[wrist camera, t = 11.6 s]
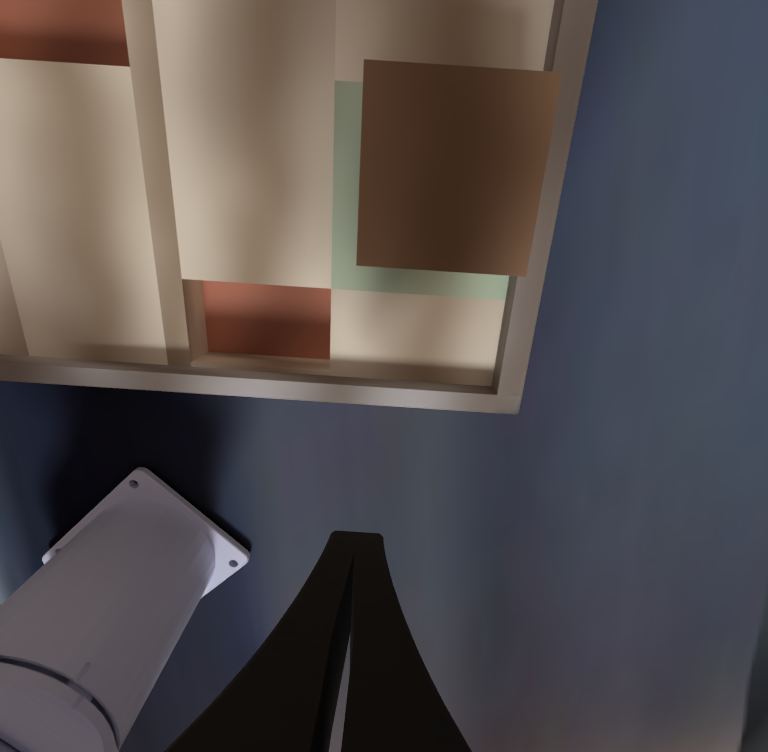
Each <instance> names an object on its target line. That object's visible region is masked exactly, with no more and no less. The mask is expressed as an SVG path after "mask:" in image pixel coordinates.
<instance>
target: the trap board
mask: <svg viewBox="0 0 768 752" xmlns="http://www.w3.org/2000/svg"><path fill="white" fill-rule="evenodd" d="M597 5H598V0H0V381H15V382H31V383H46V384H61V385H76V386H92V387H107V388H122V389H137V390H153V391H168V392H183V393H198V394H214V395H229V396H244V397H259V398H275V399H290V400H305V401H320V402H336V403H351V404H366V405H381V406H397V407H412V408H427V409H442V410H458V411H473V412H488V413H503V414H518V413H519V408H520V402H521V397H522V392H523V387H524V382H525V377H526V371H527V366H528V361H529V356H530V351H531V346H532V340H533V335H534V330H535V325H536V320H537V315H538V309H539V304H540V299H541V294H542V289H543V284H544V278H545V273H546V268H547V263H548V258H549V253H550V247H551V242H552V237H553V232H554V227H555V222H556V216H557V211H558V206H559V201H560V196H561V191H562V185H563V180H564V175H565V170H566V165H567V160H568V154H569V149H570V144H571V139H572V134H573V129H574V123H575V118H576V113H577V108H578V103H579V98H580V92H581V87H582V82H583V77H584V72H585V67H586V61H587V56H588V51H589V46H590V41H591V36H592V30H593V25H594V20H595V15H596V10H597ZM364 59H368V60H384V61H399V62H414V63H429V64H444V65H459V66H475V67H490V68H505V69H520V70H535V71H550V72H563V73H562V79H561V85H560V90H559V96H558V102H557V107H556V113H555V118H554V124H553V130H552V135H551V141H550V146H549V152H548V158H547V163H546V169H545V175H544V180H543V186H542V191H541V197H540V203H539V208H538V214H537V220H536V225H535V231H534V236H533V242H532V248H531V253H530V259H529V264H528V270H527V276H526V277H521V276H506V275H490V274H475V273H460V272H445V271H429V270H414V269H399V268H384V267H368V266H356V258H357V230H358V203H359V176H360V149H361V122H362V95H363V68H364Z"/></svg>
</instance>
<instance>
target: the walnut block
mask: <svg viewBox="0 0 768 752" xmlns="http://www.w3.org/2000/svg"><path fill="white" fill-rule="evenodd" d="M562 73H563V72H550V71H535V70H520V69H505V68H490V67H475V66H459V65H444V64H429V63H414V62H399V61H384V60H368V59H364V68H363V95H362V122H361V149H360V176H359V203H358V230H357V258H356V266H368V267H384V268H399V269H414V270H429V271H445V272H460V273H475V274H490V275H506V276H521V277H526V276H527V270H528V264H529V259H530V253H531V248H532V242H533V236H534V231H535V225H536V220H537V214H538V208H539V203H540V197H541V191H542V186H543V180H544V175H545V169H546V163H547V158H548V152H549V146H550V141H551V135H552V130H553V124H554V118H555V113H556V107H557V102H558V96H559V90H560V85H561V79H562Z"/></svg>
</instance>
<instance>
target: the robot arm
mask: <svg viewBox="0 0 768 752" xmlns="http://www.w3.org/2000/svg"><path fill="white" fill-rule="evenodd" d="M134 480H135V481H137V482H138V484H137V483H135V482H134ZM249 558H250V553H249V552H248V550H246V549H245V548H244V547H243V546H242V545H240V544H239V543H238V542H237V541H235V540H234V539H233V538H232V537H231V536H229V535H228V534H227V533H226V532H224V531H223V530H222V529H221V528H220V527H218V526H217V525H216V524H215V523H213V522H212V521H211V520H210V519H209V518H207V517H206V516H205V515H204V514H202V513H201V512H200V511H199V510H198V509H196V508H195V507H194V506H193V505H191V504H190V503H189V502H188V501H186V500H185V499H184V498H183V497H182V496H180V495H179V494H178V493H177V492H175V491H174V490H173V489H172V488H171V487H169V486H168V485H167V484H166V483H164V482H163V481H162V480H161V479H160V478H158V477H157V476H156V475H155V474H153V473H152V472H151V471H150V470H148V469H147V468H144V467H138V468H137V469H135V470H134V471H133V472H132V473H131V474H130V475H129V476H128V477H126V478H125V479H124V480H123V481H122V482H121V483H120V484H119V485H118V486H117V487H116V488H115V489H114V490H113V491H112V492H111V493H109V494H108V495H107V496H106V497H105V498H104V499H103V500H102V501H101V502H100V503H99V504H98V505H97V506H96V507H95V508H93V509H92V510H91V511H90V512H89V513H88V514H87V515H86V516H85V517H84V518H83V519H82V520H81V521H80V522H79V523H78V524H76V525H75V526H74V527H73V528H72V529H71V530H70V531H69V532H68V533H67V534H66V535H65V536H64V537H63V538H62V539H60V540H59V541H58V542H57V543H56V544H55V545H54V546H53V547H52V548H51V549H50V550H49V551H48V552H47V553H46V554H45V555H43V557H42V561H43V563H44V565H43V566H42V567H41V568H40V569H39V570H38V571H37V572H36V573H35V574H34V575H33V576H31V577H30V578H29V579H28V580H27V581H26V582H25V583H24V584H23V585H22V586H21V587H20V588H19V589H17V590H16V591H15V592H14V593H13V594H12V595H11V596H10V597H9V598H8V599H7V600H6V601H5V602H3V603H2V604H1V605H0V752H119V749H120V747H121V746H122V744H123V742H124V740H125V738H126V736H127V734H128V733H129V731H130V729H131V727H132V725H133V723H134V721H135V720H136V718H137V716H138V714H139V712H140V710H141V708H142V706H143V705H144V703H145V701H146V699H147V697H148V695H149V693H150V692H151V690H152V688H153V686H154V684H155V682H156V680H157V679H158V677H159V675H160V673H161V671H162V669H163V667H164V666H165V664H166V662H167V660H168V658H169V656H170V654H171V652H172V651H173V649H174V647H175V645H176V643H177V641H178V639H179V638H180V636H181V634H182V632H183V630H184V628H185V626H186V625H187V623H188V621H189V619H190V617H191V615H192V613H193V612H194V610H195V608H196V606H197V604H198V602H199V600H200V598H202V597H203V596H204V595H206V594H207V593H208V592H210V591H211V590H212V589H214V588H215V587H216V586H218V585H219V584H220V583H222V582H223V581H224V580H225V579H227V578H228V577H229V576H231V575H232V574H233V573H235V572H236V571H237V570H239V569H240V568H241V567H243V566H244V565H245V564H246V563H247V562H248V560H249ZM233 560H235V561H237V562H235V561H233ZM350 630H351V632H350ZM349 635H350V676H349V685H348V694H347V704H346V713H345V722H344V731H343V739H342V748H341V752H472V751H471V749H470V748H469V746H468V744H467V743H466V741H465V739H464V737H463V736H462V734H461V732H460V730H459V729H458V727H457V725H456V723H455V722H454V720H453V718H452V717H451V715H450V713H449V711H448V710H447V708H446V706H445V704H444V702H443V700H442V698H441V696H440V695H439V693H438V691H437V689H436V687H435V685H434V683H433V681H432V679H431V677H430V675H429V673H428V671H427V669H426V667H425V664H424V662H423V660H422V658H421V656H420V654H419V651H418V649H417V647H416V645H415V642H414V640H413V638H412V635H411V633H410V630H409V628H408V625H407V623H406V620H405V618H404V615H403V612H402V610H401V607H400V604H399V601H398V598H397V595H396V592H395V589H394V586H393V583H392V579H391V576H390V572H389V568H388V564H387V560H386V556H385V550H384V543H383V537H382V536H381V535H380V534H379V533H364V532H348V531H334V532H333V533H331V535H330V537H329V540H328V542H327V544H326V546H325V549H324V551H323V553H322V555H321V556H320V558H319V560H318V562H317V564H316V566H315V567H314V569H313V571H312V572H311V574H310V576H309V577H308V579H307V581H306V582H305V584H304V585H303V587H302V589H301V590H300V592H299V594H298V595H297V597H296V598H295V600H294V601H293V603H292V604H291V605H290V607H289V608H288V610H287V611H286V613H285V614H284V615H283V617H282V618H281V620H280V621H279V623H278V624H277V625H276V627H275V628H274V630H273V631H272V632H271V633H270V635H269V636H268V637H267V639H266V640H265V641H264V643H263V644H262V645H261V646H260V648H259V649H258V650H257V651H256V653H255V654H254V655H253V656H252V658H251V659H250V660H249V661H248V663H247V664H246V665H245V666H244V667H243V668H242V670H241V671H240V672H239V673H238V674H237V675H236V676H235V678H234V679H233V680H232V681H231V682H230V683H229V684H228V686H227V687H226V688H225V689H224V690H223V691H222V692H221V694H220V695H219V696H218V697H217V698H216V699H215V700H214V701H213V702H212V703H211V704H210V705H209V707H208V708H207V709H206V710H205V711H204V712H203V713H202V714H201V715H200V716H199V717H198V718H197V719H196V720H195V721H194V722H193V723H192V724H191V725H190V726H189V727H188V728H187V729H186V730H185V731H184V732H183V733H182V734H181V735H180V736H179V737H178V738H177V739H176V740H175V741H174V742H173V743H172V744H171V745H170V746H169V747H168V748H167V749H166V750H165V751H164V752H329V745H330V739H331V732H332V726H333V721H334V716H335V710H336V705H337V700H338V694H339V689H340V684H341V678H342V673H343V668H344V662H345V657H346V652H347V646H348V641H349Z"/></svg>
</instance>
